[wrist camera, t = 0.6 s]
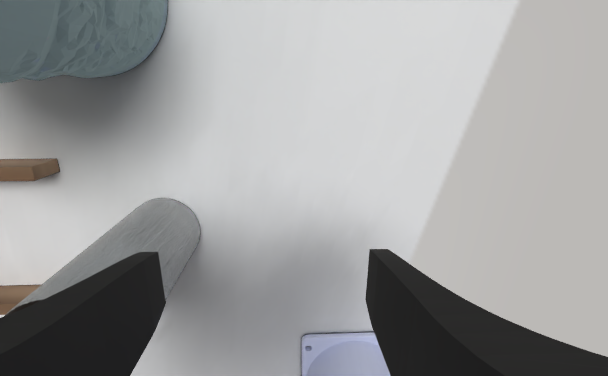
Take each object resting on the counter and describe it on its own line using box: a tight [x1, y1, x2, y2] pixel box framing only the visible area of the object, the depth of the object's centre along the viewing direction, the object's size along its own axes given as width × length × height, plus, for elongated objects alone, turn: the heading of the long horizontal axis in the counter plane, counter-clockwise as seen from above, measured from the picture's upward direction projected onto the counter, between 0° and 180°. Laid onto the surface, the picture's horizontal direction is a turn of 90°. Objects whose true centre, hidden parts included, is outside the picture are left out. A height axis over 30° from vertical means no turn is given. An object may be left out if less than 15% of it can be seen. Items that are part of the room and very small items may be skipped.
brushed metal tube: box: [5, 198, 200, 316], centre depth 16 cm, size 4×4×10 cm
